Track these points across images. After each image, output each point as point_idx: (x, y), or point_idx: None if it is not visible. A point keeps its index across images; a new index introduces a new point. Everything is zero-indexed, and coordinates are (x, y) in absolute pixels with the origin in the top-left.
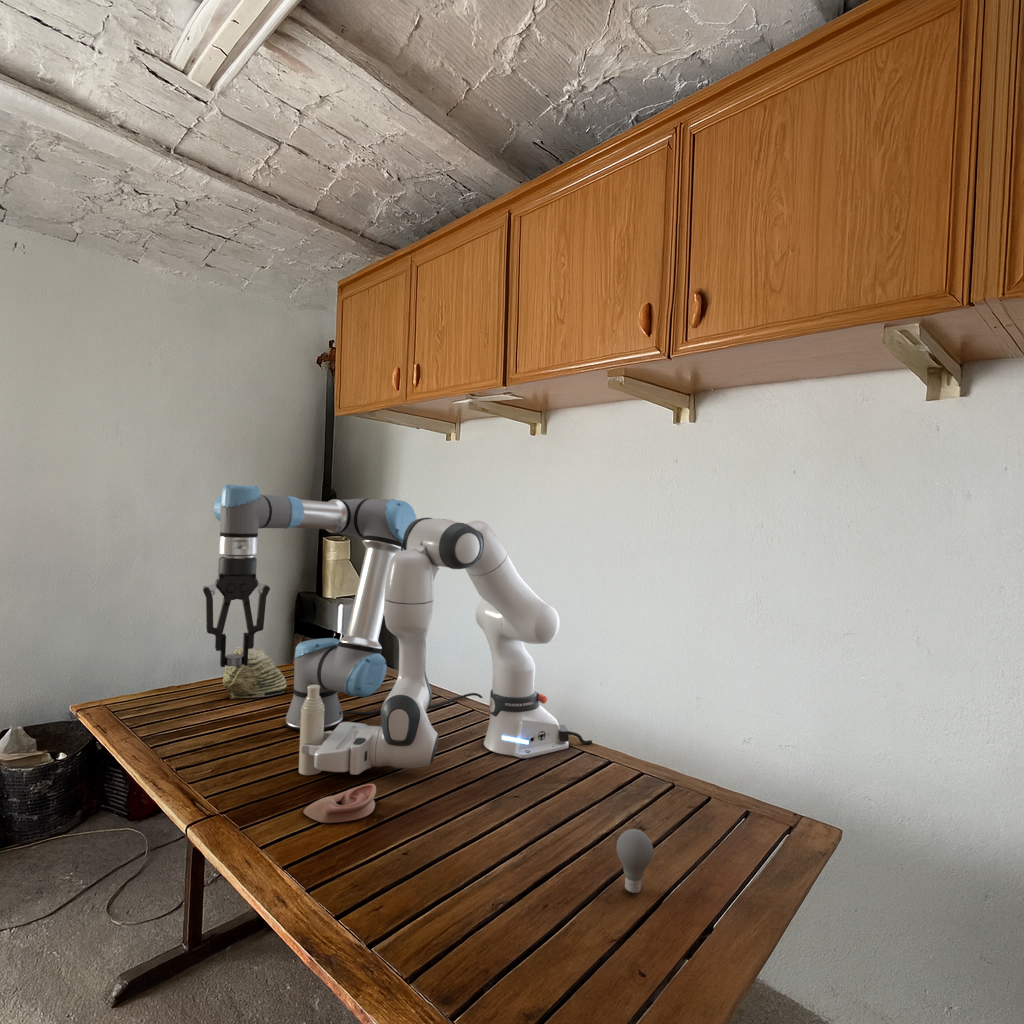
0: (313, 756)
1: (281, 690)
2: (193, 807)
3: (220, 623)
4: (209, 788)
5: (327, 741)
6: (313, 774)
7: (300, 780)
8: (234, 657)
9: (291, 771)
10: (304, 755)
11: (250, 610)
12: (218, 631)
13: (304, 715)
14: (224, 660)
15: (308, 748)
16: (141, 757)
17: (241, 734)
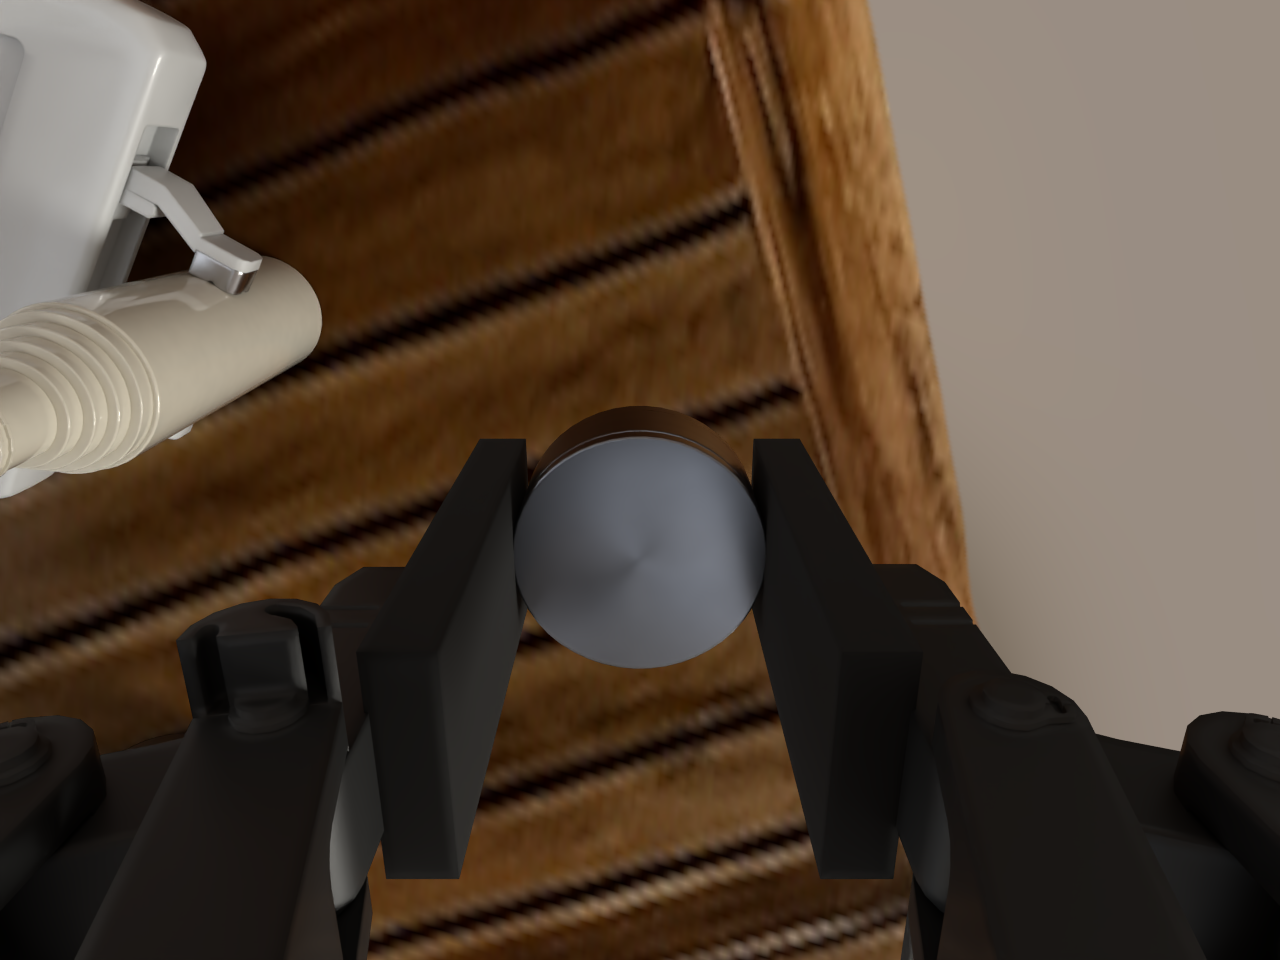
0: None
1: None
2: (806, 121)
3: (1129, 919)
4: (722, 300)
5: (78, 202)
6: None
7: (319, 216)
8: (644, 478)
9: (355, 339)
10: (259, 284)
11: None
12: (1060, 739)
13: (146, 334)
14: (773, 469)
15: (215, 240)
16: None
17: (543, 815)
